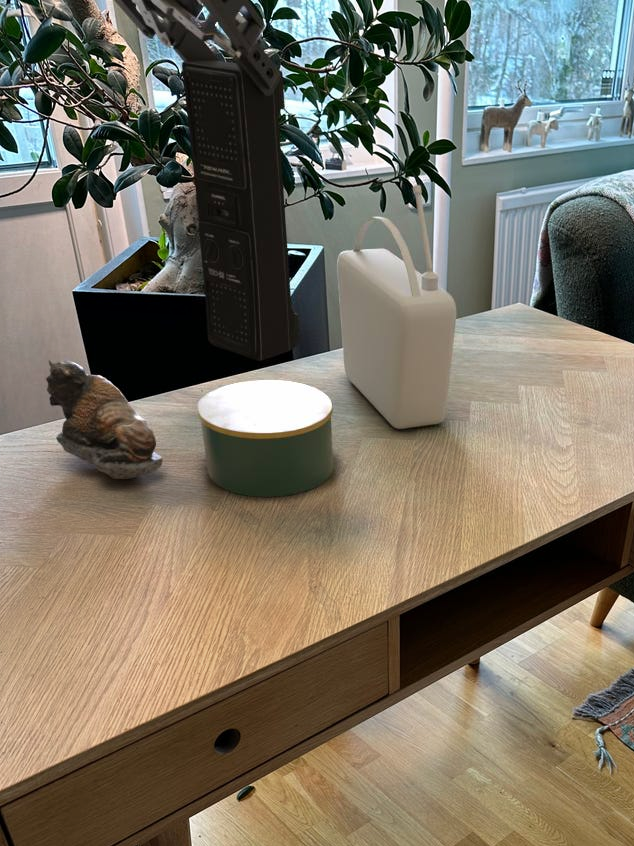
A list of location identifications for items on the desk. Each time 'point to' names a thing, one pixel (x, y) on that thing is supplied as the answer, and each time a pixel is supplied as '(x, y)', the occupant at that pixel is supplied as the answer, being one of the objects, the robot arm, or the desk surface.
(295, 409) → the tin
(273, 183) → the portable radio
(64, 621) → the desk surface
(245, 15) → the robot arm
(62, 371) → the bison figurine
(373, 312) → the white watering can
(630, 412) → the desk surface
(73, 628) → the desk surface
